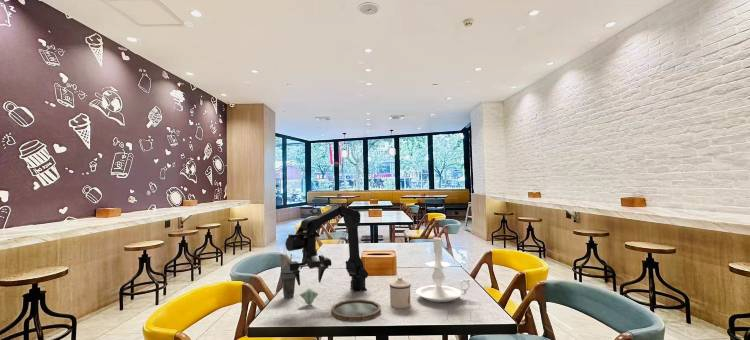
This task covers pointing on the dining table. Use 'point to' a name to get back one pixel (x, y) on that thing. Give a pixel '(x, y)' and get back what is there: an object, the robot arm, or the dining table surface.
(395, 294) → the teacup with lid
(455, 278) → the dining table surface
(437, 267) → the candlestick
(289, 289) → the beverage cup
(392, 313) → the dining table surface
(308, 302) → the grey-green angular piece
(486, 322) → the dining table surface
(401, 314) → the dining table surface
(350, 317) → the round tray
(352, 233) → the robot arm
